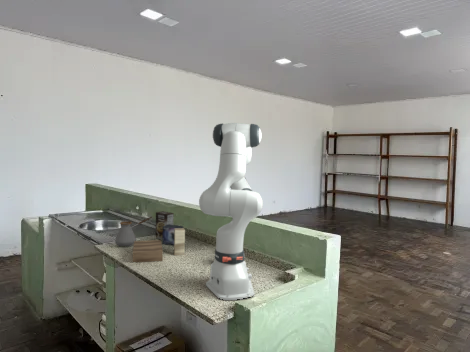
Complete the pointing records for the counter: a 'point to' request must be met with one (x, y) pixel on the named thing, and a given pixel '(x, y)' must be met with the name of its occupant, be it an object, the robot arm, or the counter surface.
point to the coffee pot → (127, 233)
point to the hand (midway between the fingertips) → (201, 208)
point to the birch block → (179, 241)
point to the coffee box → (162, 222)
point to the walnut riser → (147, 251)
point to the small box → (169, 234)
